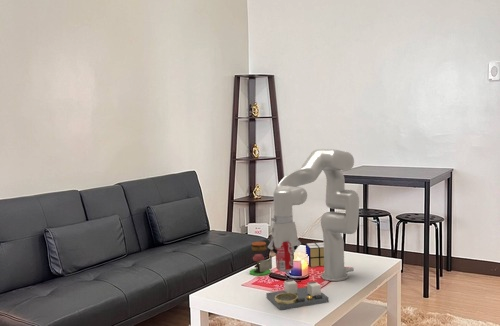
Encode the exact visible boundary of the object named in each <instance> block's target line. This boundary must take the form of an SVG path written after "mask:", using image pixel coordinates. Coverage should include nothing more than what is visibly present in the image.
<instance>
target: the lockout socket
mask: <svg viewBox="0 0 500 326" xmlns="http://www.w3.org/2000/svg"><path fill="white" fill-rule="evenodd" d="M283 296H291V297H295V299H293V300H289V301H283V300H279V299H277V298H279V297H283ZM297 299H298V296H297V295H296V294H293V293H281V294H278V295H276V296H275V301H276V302H277V303H281V304H291V303H295V302H297Z"/></svg>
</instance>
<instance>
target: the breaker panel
mask: <svg viewBox="0 0 500 326" xmlns="http://www.w3.org/2000/svg"><path fill="white" fill-rule="evenodd" d="M297 291H298V293H295V294H296V295H297V296H298V299H297V302H295V303H291V304H281V303H277V302H276V301H275V296H276V295H278V294H281V293H287V292H285V289H284V290H276V291H272V292H266V294H265V296H266V299H267V300H268V301H269V302H271V304H273V305H274V306H275V307H276V308H277V309H278V310H279V311H284V310H290V309H296V308H302V307H307V306H313V305H319V304H325V303H329V301H330V299H329V296H327V295H326V294H324V293H323V291H321V295H316V296H311V295H310V294H308V293H307V286H304V287H297ZM277 299H279V300H283V301H289V300H293V299H295V297H291V296H283V297H279V298H277Z"/></svg>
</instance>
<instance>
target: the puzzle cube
mask: <svg viewBox="0 0 500 326" xmlns="http://www.w3.org/2000/svg"><path fill="white" fill-rule="evenodd" d="M306 254H308V256H309V265H310V266H309V265H308V266H309V267H310V268H318V267H317V266H319V267H320V266H321V267H324V241H323V242H311V243H306V244H305V255H306Z"/></svg>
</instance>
